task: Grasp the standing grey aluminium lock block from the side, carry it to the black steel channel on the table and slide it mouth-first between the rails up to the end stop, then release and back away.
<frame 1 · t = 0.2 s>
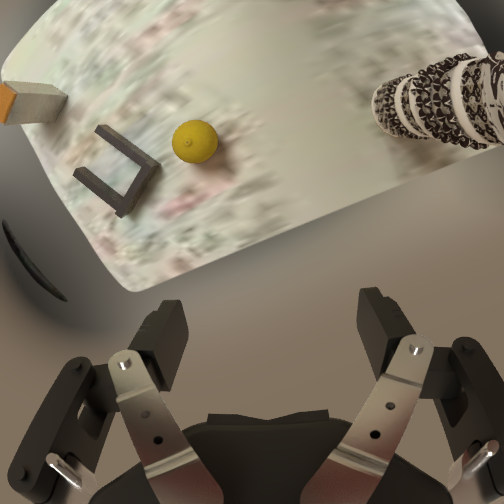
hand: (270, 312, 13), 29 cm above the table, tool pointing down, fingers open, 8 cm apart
lemon: (202, 141, 37), on the table
channel: (114, 165, 39), on the table
lock block: (53, 102, 34), on the table
decorative candle: (396, 109, 34), on the table
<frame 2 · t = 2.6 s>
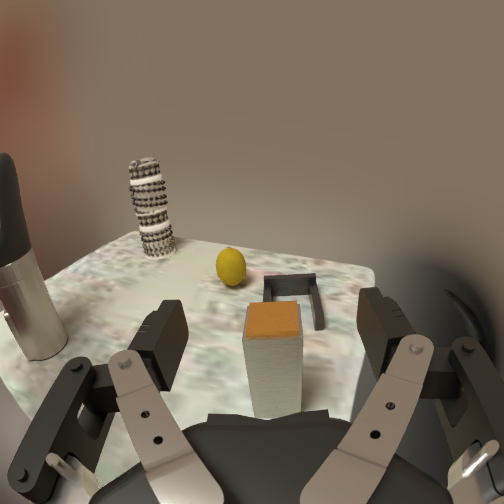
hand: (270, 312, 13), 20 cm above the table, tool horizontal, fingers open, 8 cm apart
lemon: (233, 286, 55), on the table
channel: (291, 312, 46), on the table
lock block: (277, 400, 30), on the table
decorative candle: (160, 254, 74), on the table
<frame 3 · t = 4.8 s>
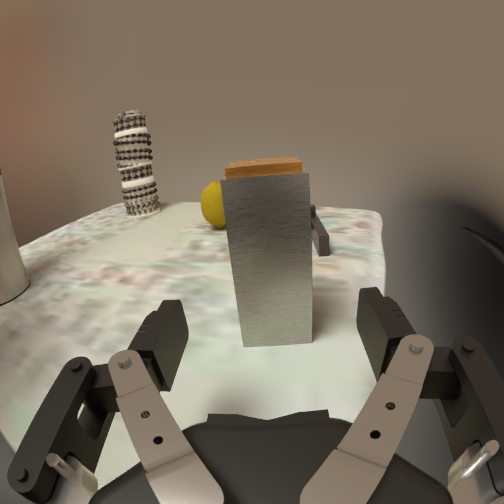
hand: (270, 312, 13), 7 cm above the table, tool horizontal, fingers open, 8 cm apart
lemon: (221, 229, 48), on the table
channel: (289, 243, 39), on the table
lock block: (276, 324, 23), on the table
decorative candle: (143, 214, 66), on the table
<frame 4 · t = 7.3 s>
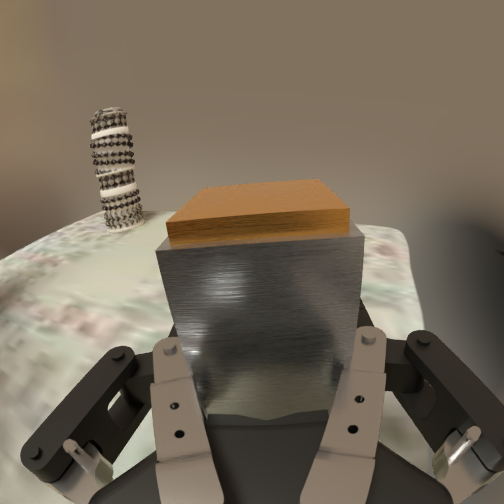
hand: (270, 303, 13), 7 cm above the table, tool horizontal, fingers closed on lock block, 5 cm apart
lock block: (277, 432, 14), on the table, touching gripper
decorative candle: (126, 227, 57), on the table
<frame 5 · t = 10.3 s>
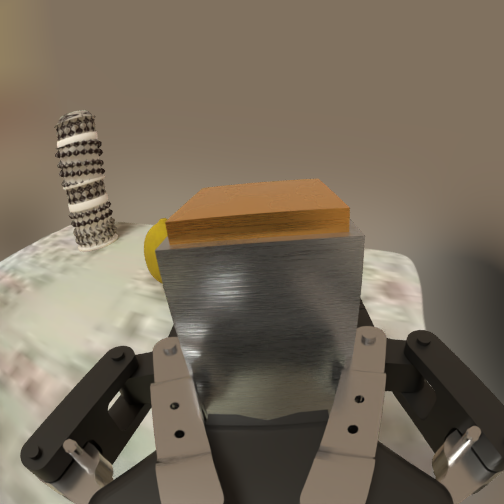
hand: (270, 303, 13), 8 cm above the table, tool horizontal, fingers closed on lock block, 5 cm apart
lemon: (178, 288, 32), on the table
lock block: (277, 432, 14), point 1 cm above the table, touching gripper
decorative candle: (98, 243, 50), on the table
when the fingers open (8 cm above the table, at t = 13.4 s): lock block stays where it is, resting in channel.
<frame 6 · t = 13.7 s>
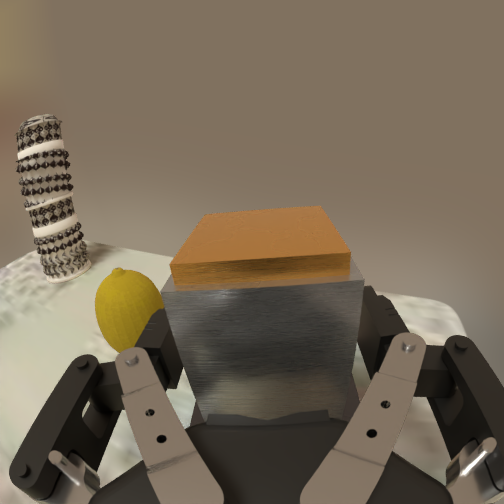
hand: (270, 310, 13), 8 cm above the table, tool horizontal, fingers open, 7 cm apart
lemon: (147, 356, 22), on the table
channel: (278, 462, 12), on the table
lock block: (278, 443, 14), resting in channel
decorative candle: (69, 272, 40), on the table
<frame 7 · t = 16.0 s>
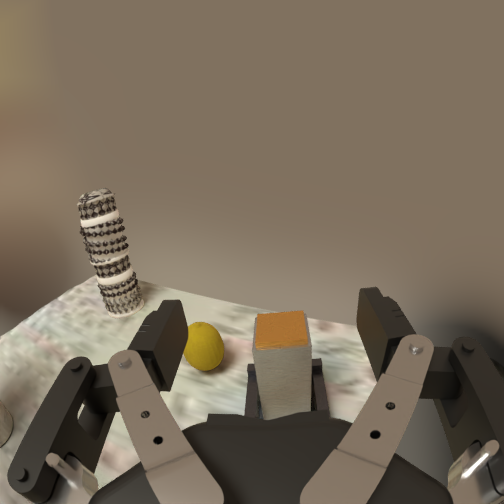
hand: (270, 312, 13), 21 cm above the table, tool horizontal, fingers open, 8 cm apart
lemon: (209, 369, 38), on the table
channel: (287, 418, 29), on the table
lock block: (287, 409, 30), resting in channel
decorative candle: (126, 308, 57), on the table
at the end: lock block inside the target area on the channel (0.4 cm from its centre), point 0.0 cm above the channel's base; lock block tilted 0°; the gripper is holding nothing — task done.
